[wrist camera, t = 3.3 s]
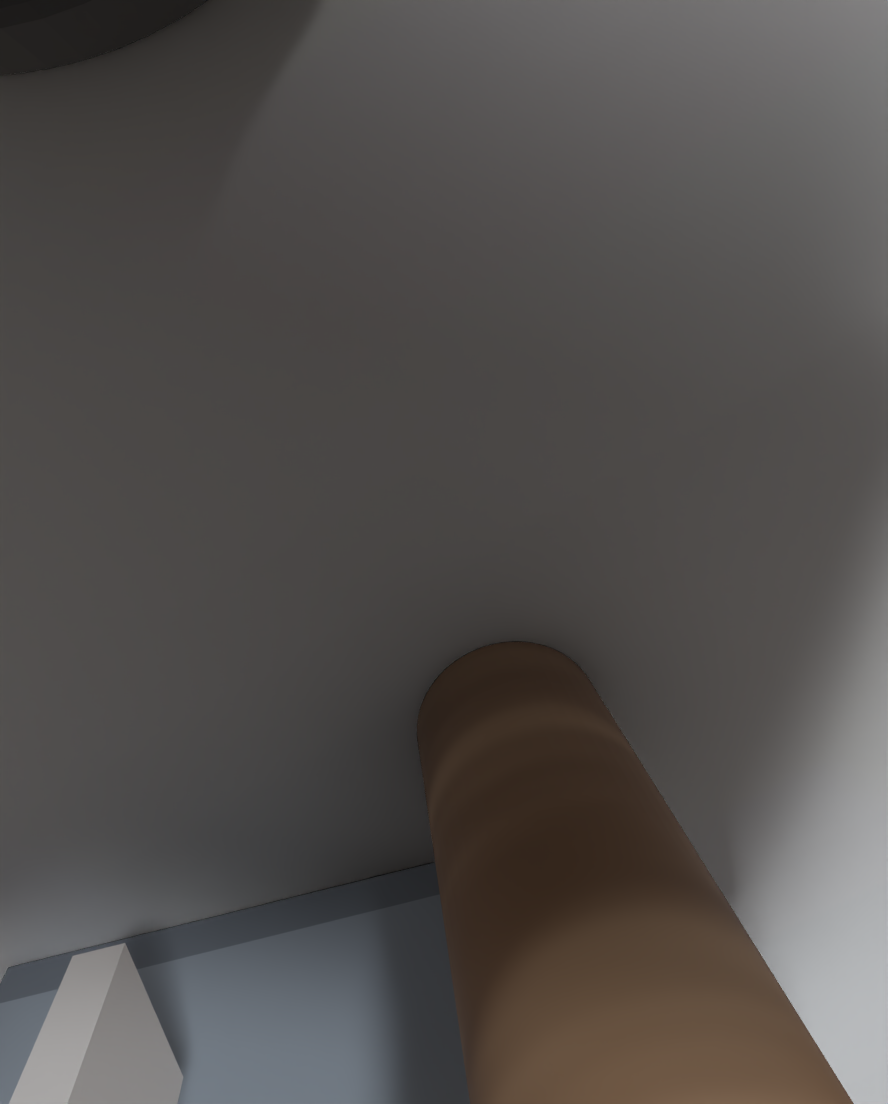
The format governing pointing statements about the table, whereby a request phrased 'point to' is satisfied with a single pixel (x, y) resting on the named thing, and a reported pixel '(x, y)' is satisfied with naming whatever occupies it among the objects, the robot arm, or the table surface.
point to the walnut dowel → (588, 909)
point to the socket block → (288, 999)
